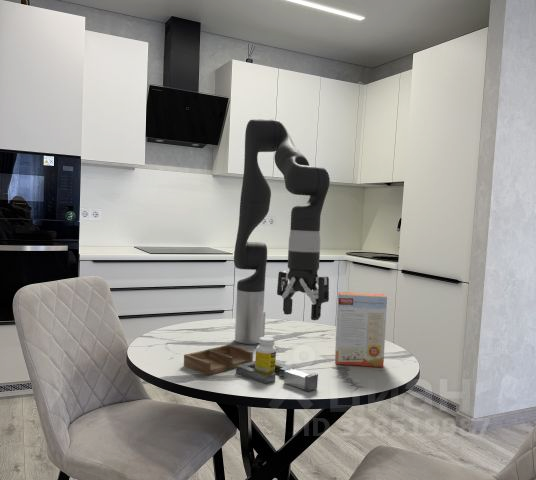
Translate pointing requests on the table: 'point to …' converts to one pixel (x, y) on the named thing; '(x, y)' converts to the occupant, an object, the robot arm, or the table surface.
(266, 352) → the supplement bottle
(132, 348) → the table surface
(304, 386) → the silver rectangular block
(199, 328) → the table surface
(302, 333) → the table surface
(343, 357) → the cracker box
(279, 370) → the socket
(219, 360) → the brown wooden divided tray
